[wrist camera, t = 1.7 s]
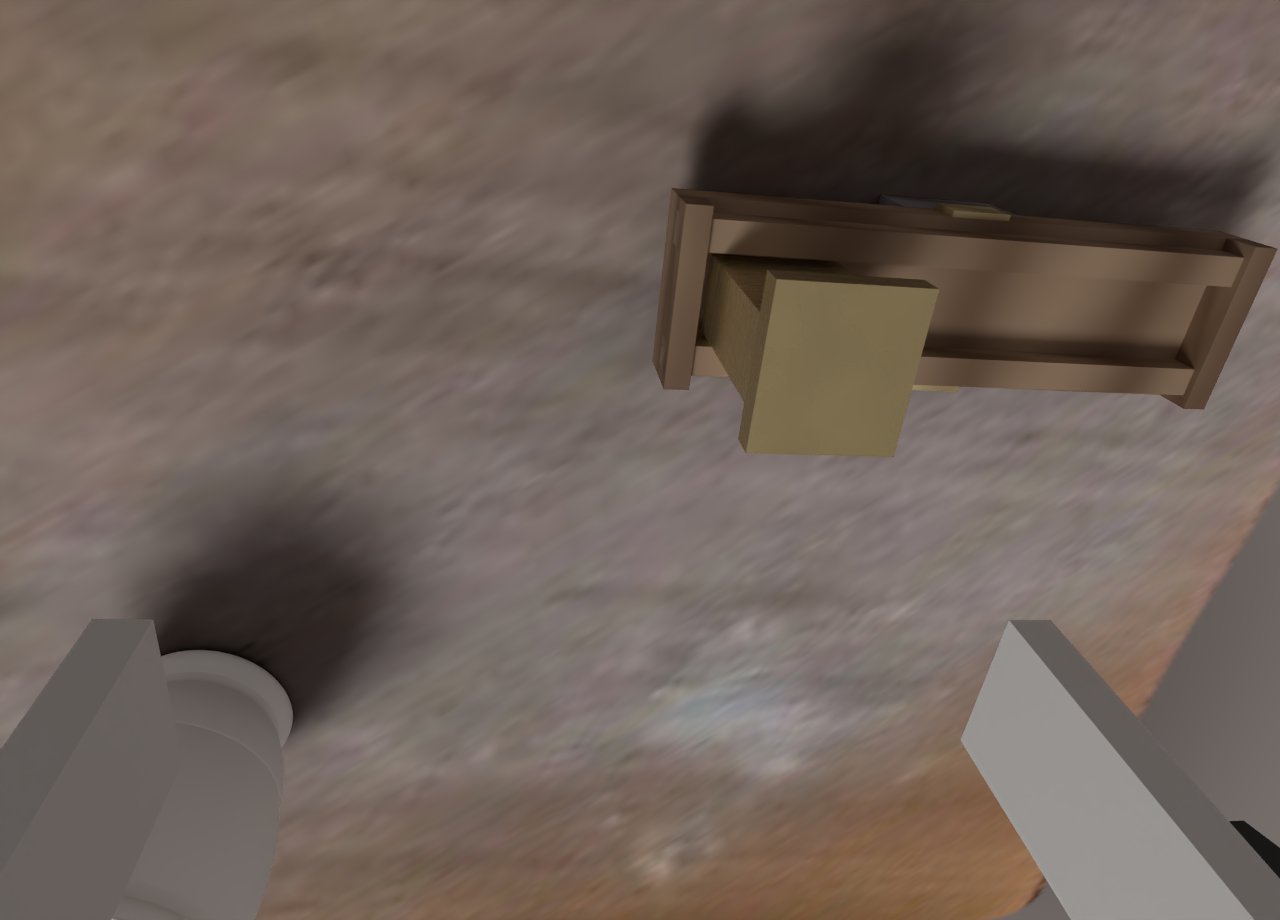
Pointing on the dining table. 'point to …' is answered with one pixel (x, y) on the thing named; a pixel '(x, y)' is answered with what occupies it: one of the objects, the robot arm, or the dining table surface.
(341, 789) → the dining table surface
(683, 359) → the brown long rectangular frame
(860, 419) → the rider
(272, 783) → the jar
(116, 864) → the robot arm
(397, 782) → the dining table surface
